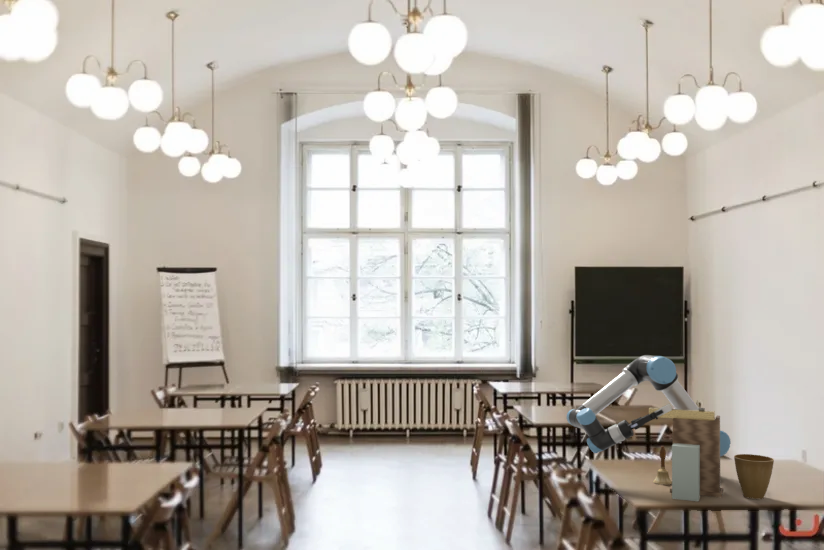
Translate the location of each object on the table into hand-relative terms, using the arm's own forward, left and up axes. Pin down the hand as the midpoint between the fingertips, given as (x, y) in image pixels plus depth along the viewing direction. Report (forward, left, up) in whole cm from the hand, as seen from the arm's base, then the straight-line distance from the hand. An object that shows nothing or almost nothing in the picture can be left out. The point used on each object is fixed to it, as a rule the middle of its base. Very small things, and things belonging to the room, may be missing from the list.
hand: (670, 406), depth 336 cm
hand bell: (-5, -12, -35) cm, 37 cm away
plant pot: (-23, +22, -35) cm, 47 cm away
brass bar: (-3, +3, -5) cm, 6 cm away
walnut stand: (-7, +7, -35) cm, 36 cm away
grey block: (+5, +15, -35) cm, 38 cm away
